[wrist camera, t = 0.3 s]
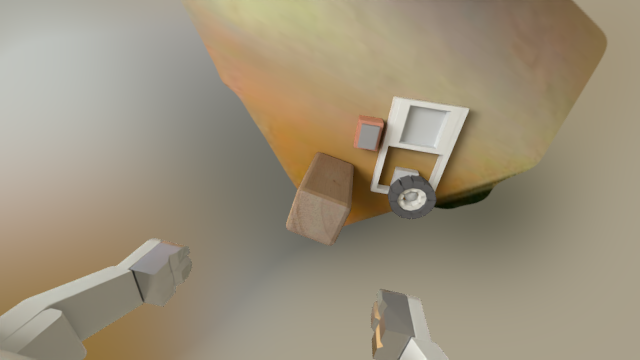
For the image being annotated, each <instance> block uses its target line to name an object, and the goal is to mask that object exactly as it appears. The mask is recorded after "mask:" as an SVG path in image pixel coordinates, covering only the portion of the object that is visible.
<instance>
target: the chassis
mask: <svg viewBox="0 0 640 360" xmlns="http://www.w3.org/2000/svg"><path fill="white" fill-rule="evenodd" d="M468 111H469V108H466V107H463V106H457V105H450V104H443V103H437V102H430V101H424V100H417V99H411V98H404V97H398V96H394V98H393V102H392V106H391V109H390V113H389V117H388V121H387V125H386V128H385V132H384V136H383V140H382V144H381V147H380V151H379V155H378V159H377V163H376V166H375V170H374V174H373V178H372V182H371V186H370V189H371V191H373V192H379V193H384V194H388V192H389V188H390V186H385V185H380V184H378V181H379V178H380V174H381V171H382V167H383V164H384V160H385V156H386V153H387V149H388V146H393V147H399V148H405V149H411V150H417V151H423V152H429V153H434V154H439V156H438V159H437V162H436V164H435V167H434V169H433V172H432V174H431V177H430V179H429V183H430V184H431V186H432V188H433V189H434V191H435V190H436V188H437V185H438V183H439V181H440V178H441V176H442V173H443V171H444V169H445V166H446V164H447V161H448V159H449V157H450V154H451V152H452V150H453V147H454V145H455V142H456V140H457V138H458V135H459V133H460V130H461V128H462V126H463V123H464V121H465V118H466V116H467V114H468ZM407 175H410V177H411V175H415V176H418V175H419V173H418V171H417V170H413V169H407V168H402V167H396V168H395V171H394V174H393V178H392V181H391V184H393V183H394V182H395V181H396V180H397V179H399V180H400V177H404V176H407ZM391 184H390V185H391ZM417 196H418V192H413V191H410V192H408V193H406V194H404V196H403V197H405V199H406V200H407V201H413V200H415V199H416V198H417Z"/></svg>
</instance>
